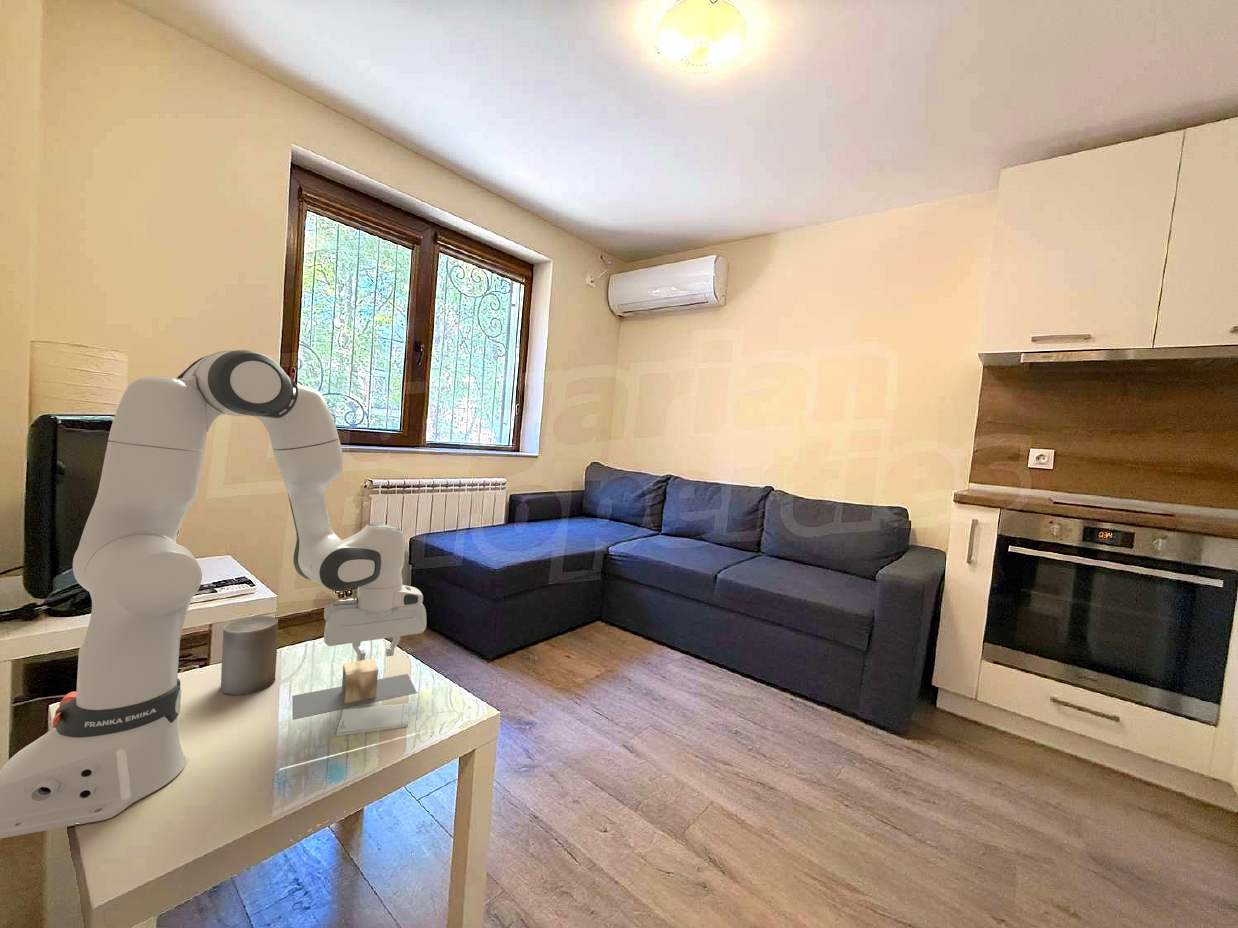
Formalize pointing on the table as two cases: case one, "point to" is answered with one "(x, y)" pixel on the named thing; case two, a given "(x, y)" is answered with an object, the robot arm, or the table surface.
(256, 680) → the pillar candle
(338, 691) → the rubber mat
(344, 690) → the oak block
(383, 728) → the hard drive
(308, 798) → the table surface
